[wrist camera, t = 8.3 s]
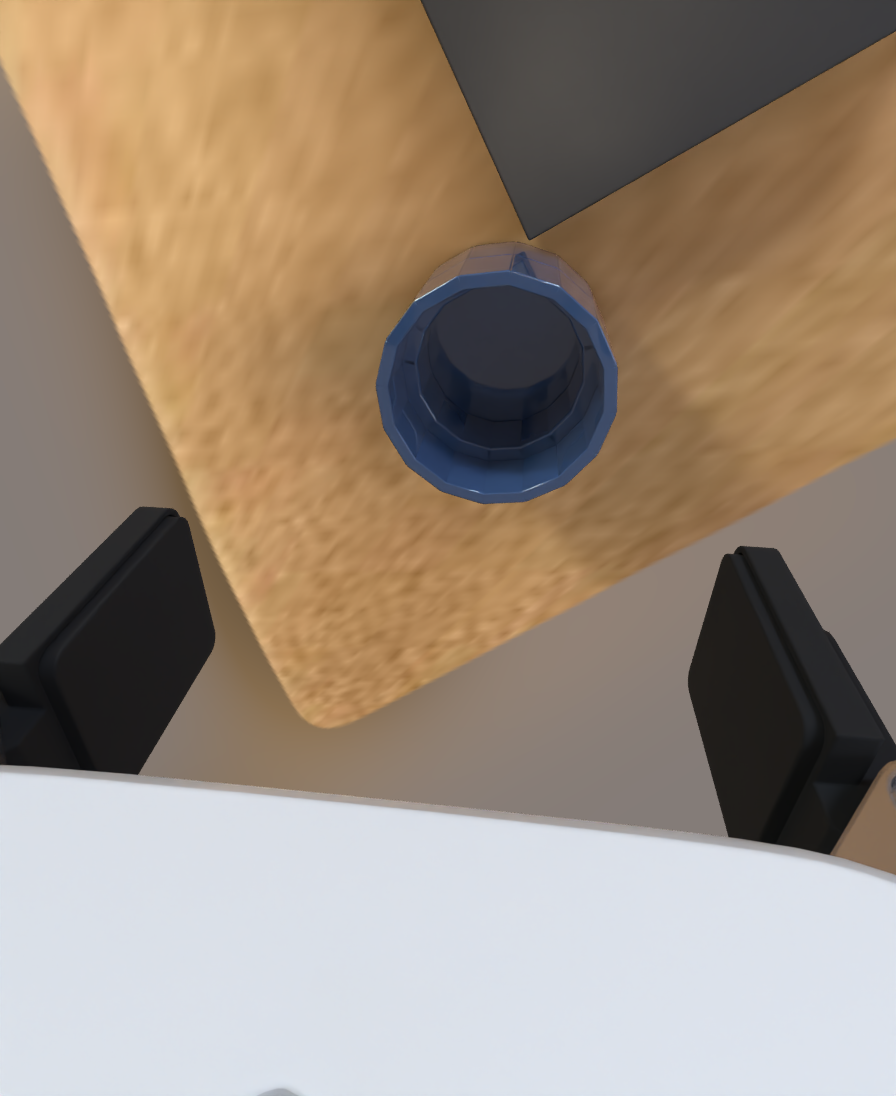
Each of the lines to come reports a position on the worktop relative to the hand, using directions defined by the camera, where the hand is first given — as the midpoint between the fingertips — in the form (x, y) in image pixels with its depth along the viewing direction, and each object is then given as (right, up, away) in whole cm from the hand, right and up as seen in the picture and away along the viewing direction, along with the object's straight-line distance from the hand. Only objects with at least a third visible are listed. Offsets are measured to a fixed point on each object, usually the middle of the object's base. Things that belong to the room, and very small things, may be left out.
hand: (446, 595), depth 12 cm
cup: (+2, +8, +13) cm, 15 cm away
